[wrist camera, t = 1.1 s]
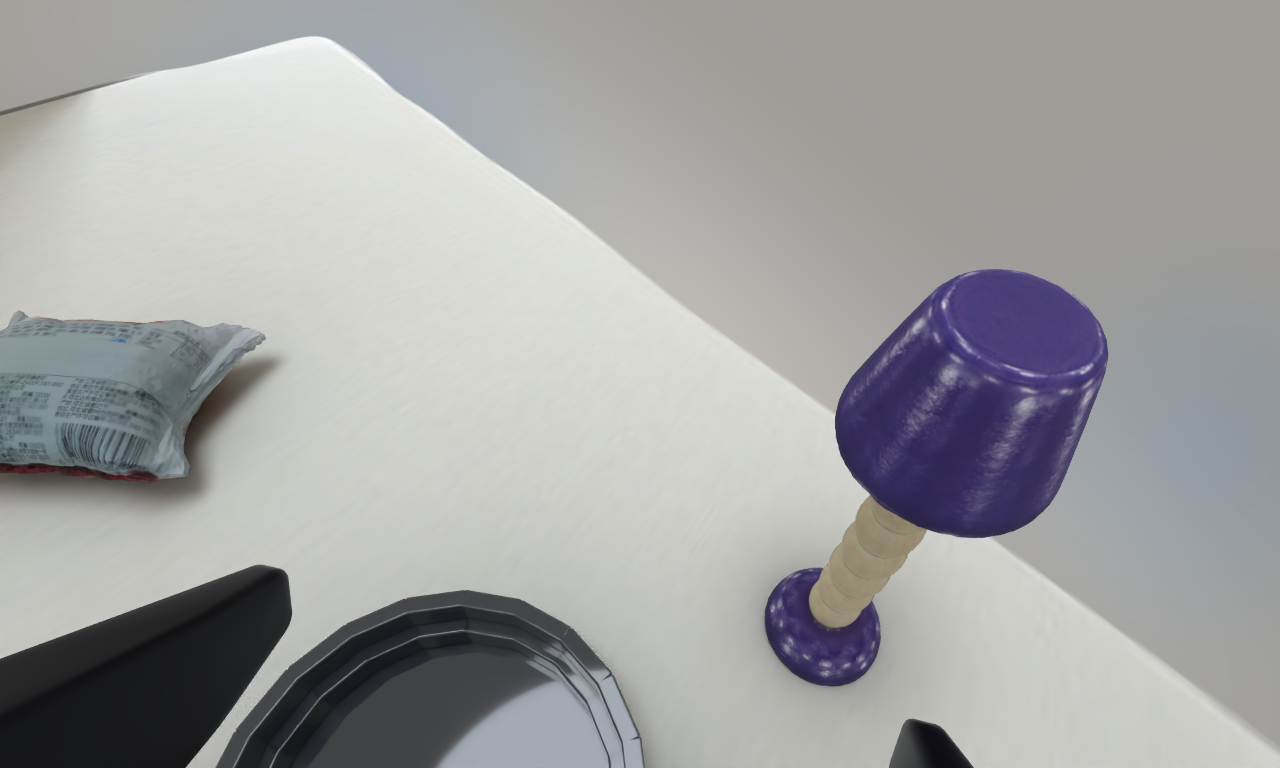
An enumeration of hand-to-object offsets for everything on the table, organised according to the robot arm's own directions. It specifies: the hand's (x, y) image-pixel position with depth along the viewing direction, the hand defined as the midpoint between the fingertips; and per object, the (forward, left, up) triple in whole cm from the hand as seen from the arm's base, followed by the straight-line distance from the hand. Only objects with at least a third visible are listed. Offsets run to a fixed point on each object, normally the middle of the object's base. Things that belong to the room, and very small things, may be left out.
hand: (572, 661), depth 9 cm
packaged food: (+19, +21, -15) cm, 32 cm away
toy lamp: (+4, -8, -15) cm, 18 cm away
